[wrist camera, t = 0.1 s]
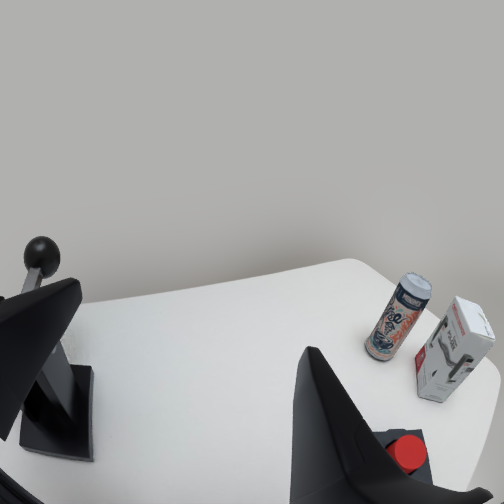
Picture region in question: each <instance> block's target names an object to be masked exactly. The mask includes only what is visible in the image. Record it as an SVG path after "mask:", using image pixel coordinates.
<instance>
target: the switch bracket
mask: <svg viewBox="0 0 504 504" xmlns="http://www.w3.org/2000/svg"><path fill="white" fill-rule="evenodd" d="M3 300H5V299H4V297H3V296H0V301H3ZM92 390H93V370H92V367H91V366H84V365H72V364H69V363H68V360H67V358H66V355H65V353H64V350H63V347H62V345H61V342H60V340H59V342H58V343H57V345H56V346H55V348H54V350H53V351H52V353H51V355H50V356H49V358H48V359H47V361H46V363H45V364H44V366H43V368H42V370H41V371H40V373H39V375H38V377H37V378H36V380H35V382H34V384H33V386H32V387H31V389H30V391H29V393H28V395H27V397H26V399H25V401H24V403H23V404H22V407H21V410H22V412H23V413H22V421H21V430H20V442H19V445H20V446H21V447H22V448H23V449H25V450H27V451H31V452H36V453H40V454H45V455H50V456H55V457H60V458H66V459H73V460H80V461H89V462H93V445H92Z"/></svg>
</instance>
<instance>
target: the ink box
mask: <svg viewBox="0 0 504 504" xmlns="http://www.w3.org/2000/svg"><path fill="white" fill-rule="evenodd" d="M494 343H495V335H494V333H493V331H492V329H491V327H490V325H489V323H488V320H487V319H486V317H485V315H484V313H483V311H482V309H481V307H480V306H479V305H477V304H475V303H473V302H470V301H467V300H464V299H462V298H460V297H457V296H455V298H454V300H453V302H452V303H451V305H450V306H449V308H448V310H447V311H446V313H445V315H444V316H443V318H442V320H441V321H440V323H439V324H438V326H437V327H436V329H435V330H434V332H433V333H432V335H431V336H430V337H429V339H428V340H427V342H426V343H425V344H424V346H423V347H422V349H421V350H420V351H419V353H418V354H417V355H416V366H417V378H418V396H419V397H422V398H426V399H430V400H434V401H438V402H441V403H442V402H444V401H445V400H446V399H447V398H448V397H449V396H450V395H451V394H452V392H453V391H454V390H455V389H456V388H457V387H458V386H459V385H460V384H461V383H462V382H463V381H464V380H465V378H466V377H467V376H468V375H469V374H470V373H471V372H472V371H473V369H474V368H475V367H476V366H477V365H478V363H479V362H480V361H481V360H482V358H483V357H484V356H485V355H486V353H487V352H488V350H490V348H491V347H492V345H493V344H494Z"/></svg>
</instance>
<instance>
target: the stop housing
mask: <svg viewBox="0 0 504 504" xmlns="http://www.w3.org/2000/svg"><path fill="white" fill-rule="evenodd" d="M373 433H374V435H375V436H376V438H377V439H378V440H379V442H380V443H381V444H382V445H383V447H384V448H385V449H387V448H388V447H389V446H390V445H392V444H393V443H394V442H395V441H397V440H398V439H399V438H401V437H402V436H405V435H414V436H416V437H418V438H419V439H420V440H421V441H422V442H423V443H424V445H425V441H424V437H423V433H422V429H419V430H405V429H389V430H387V431H386V432H373ZM425 447H426V446H425ZM426 453H427V448H426ZM408 475H409V476H411V477H412V478H414V479H417V480H420V481H422V482H425V483H429V484H432V485H433V481H432V475H431V470H430V465H429V457H428V453H427V454H426V459H425V461H424V463H423V464H422V465H421V466H420V467H419V468H417V469H415V470H414V471H412V472H410V473H409V474H408Z"/></svg>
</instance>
